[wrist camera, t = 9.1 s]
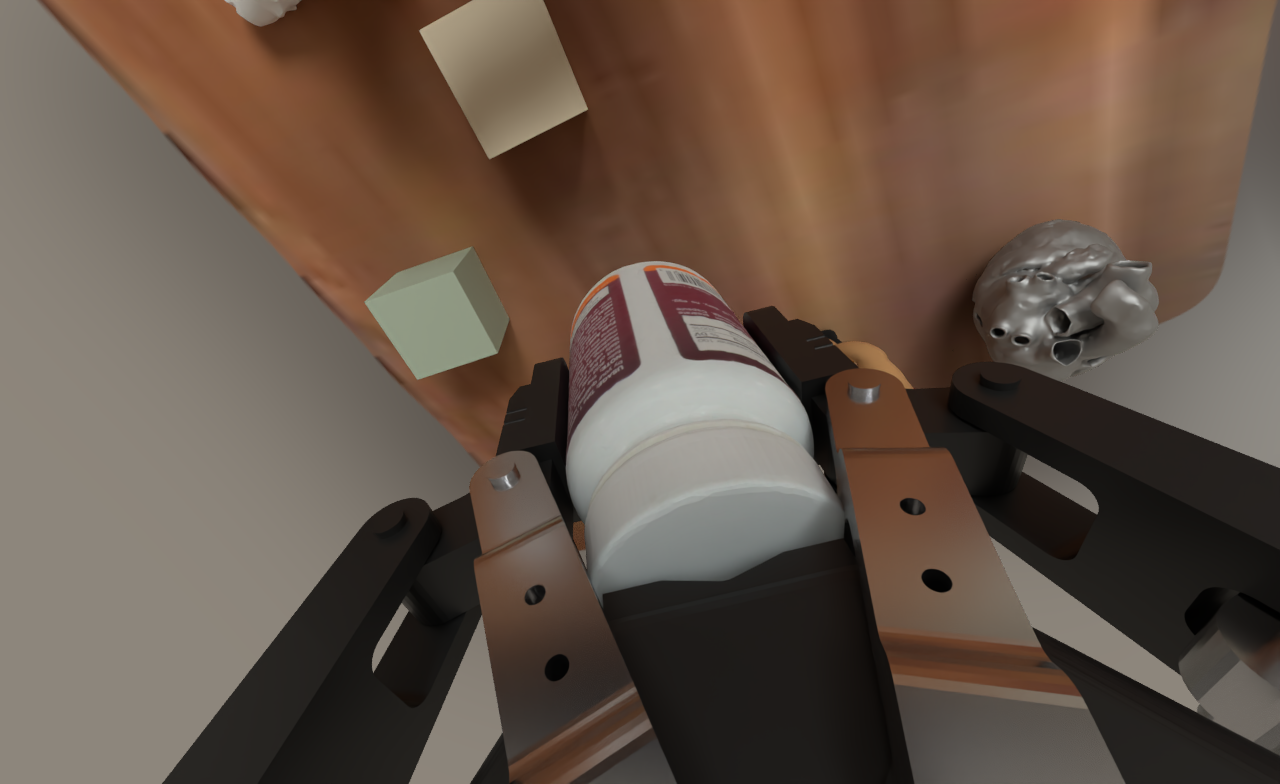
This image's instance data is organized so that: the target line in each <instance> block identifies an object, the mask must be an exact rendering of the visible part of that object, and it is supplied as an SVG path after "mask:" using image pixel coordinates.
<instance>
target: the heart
mask: <svg viewBox="0 0 1280 784" xmlns="http://www.w3.org/2000/svg"><path fill="white" fill-rule="evenodd" d="M1151 273H1152V264H1151V263H1150V262H1145V261H1130V260H1126V259H1125V257H1124V256H1123V255H1122V253H1121V250H1120V249H1119V247H1118V246H1117V245H1116V244H1115V243H1114V242H1113V240H1112V239H1111V238H1110V237H1108V235H1107V234H1106V233H1104V232H1101V231H1099V230H1098V229H1096V228H1094V227H1091V226H1088V225H1084V224H1081V223H1080V222H1076V221H1070V220H1061V219H1057V220H1052V221H1048V222H1044V223H1040V224H1037V225H1034V226H1032V227H1030V228H1028V229H1026V230H1025V231H1023V232H1022V233H1020V234H1019V235H1017V236H1016V237H1015V238H1014V239H1013V240H1011V241H1010V242H1009V243H1007V244H1006V245H1005V246H1004V247H1003V248H1002V249H1001V250H1000V251H999V252H998V253H997V254H996V255H995V256H994V257H993V258H992V259H991V260H990V262H989V263H988V265H987V266H986V268H985V270H984V272H983V274H982V276H981V277H980V278H979V279H978V281H977V283H976V285H975V289H974V292H973V298H972V301H974V302H975V307H974V312H973V319H974V324H975V325H976V328H977V330H978V332H979V334H980V335H981V336H982V338H983V340H984V341H985V343H986V346H987V350H988V353H989V355H990V357H991V358H992V359H993V361H994V362H1001V363H1008V364H1014V365H1017V366H1021V367H1024V368H1027V369H1030V370H1032V371H1035V372H1037V373H1040V374H1042V375H1045V376H1047V377H1050V378H1052V379H1055V380H1057V381H1065V380H1066V379H1067V378H1069V377H1073V376H1077V375H1080V374H1083V373H1085V372H1087V371H1089V370H1092V369H1093V368H1096V367H1098V366H1100V365H1101V364H1102V363H1104V362H1105V361H1107V360H1108V359H1110V358H1112V357H1113V356H1115V355H1117V354H1120V353H1122V352H1125V351H1127V350H1129V349H1131V348H1132V347H1134V346H1136V345H1138V344H1140V343H1142V342H1144V341H1146V340H1148V339H1149V338H1150V337H1151V336H1152V335H1153V334H1154V333H1155V332H1156V330H1157V328H1158V320H1157V317H1156V315H1155V313H1154V311H1155V310H1156V308H1157V306H1158V304H1159V300H1158V294H1157V290H1156V289H1155V287H1154V286H1153V285H1152V284H1151V283H1150V282H1149V281H1148V279H1149V277H1150V275H1151ZM976 275H977V274H976ZM966 280H967V279H966ZM952 351H953V350H952Z"/></svg>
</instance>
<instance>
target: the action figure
mask: <svg viewBox="0 0 1280 784" xmlns="http://www.w3.org/2000/svg"><path fill="white" fill-rule="evenodd" d="M821 332H822V333H823V334H824V335H825V337H827V338H828V339H829V340H830V341H831V342H832V343H833V345H836V346H837V347H838V348H839V349H840V350H841V351H842V352H843V353H844V354H845V355H846V356H847V357H848V358H849V359H850V360H851V361H852V362H853V363H854V362H856V363H857V365H858V367H859V368H867V369H876V370H880V371H884V372H887V373H889V374H891V375H893V376H895V377H896V378H898V379H899V380H900V381H901V382H902V384H903V385H904V387H905V389H915V388H913V387H912V386H911V385H910V383H909V382H908V381H907V380H906V378H905V377H904V375H903V374H902V372H901V371H900V370H899V369H898V368H897V367H896V366H895V365H894V364H893V363H891V362H890V361H889V360H888V358H887V355H886V353H885V352H884V351H882V350H881V349H880V348H878V347H876V346H874V345H871V344H869V343H867V342H859V341H848V342H841V341H840V340H838V339H837V335H836V334H835V332H834V331H832V330H824V331H821Z"/></svg>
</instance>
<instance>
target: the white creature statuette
mask: <svg viewBox="0 0 1280 784" xmlns="http://www.w3.org/2000/svg"><path fill="white" fill-rule="evenodd" d="M225 1H226V2H227V3H229V4H231V5H232V6H234V7H236V12H237V13H238V14H239V15H240V16H242V17H243V18H244V19H246V20H247V21H249V22H250V23H252V24H254V25H257V26H260V27H262V26H265V25H268V24H272V23H274V22H275V21H277V20H278V19H279V18H280V17H284V16H285V13H286V12H287V11H292V10H296V9H297V7H296V5H297V4H298V3H299V2H300V1H301V0H225Z"/></svg>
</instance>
